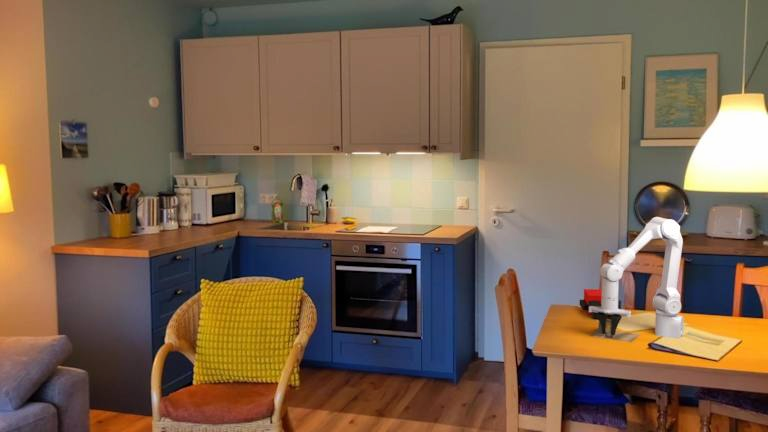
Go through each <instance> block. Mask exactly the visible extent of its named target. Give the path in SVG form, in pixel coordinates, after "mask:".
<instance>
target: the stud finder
mask: <svg viewBox="0 0 768 432" xmlns="http://www.w3.org/2000/svg"><path fill="white" fill-rule="evenodd" d="M597 326H598V329H597V330H598V333H601V334H603V333H602V328H601V325H600V322H598V325H597Z"/></svg>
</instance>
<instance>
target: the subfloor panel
mask: <svg viewBox="0 0 768 432" xmlns="http://www.w3.org/2000/svg"><path fill="white" fill-rule="evenodd" d="M640 336H641V334H640V333H634V332H627V331H619V330H616V332H615V335H613V338H605V334H601V333H598V329H597V330H595V331H594V332H592V333H591V334H590V335H589V337H596V338H601V339H607V340H615V341H619V342H620V341H621V342H626V343H627V342H628V343H632V342H633V341H635V340H636V339H637V338H638V337H640Z"/></svg>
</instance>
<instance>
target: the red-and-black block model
mask: <svg viewBox="0 0 768 432" xmlns="http://www.w3.org/2000/svg"><path fill="white" fill-rule="evenodd" d="M601 302H602V288H600V289H598V288H597V289H593V288H592V289H591V288H589V289H588V288H584V289H583V299H579V306H580V307H581V309H582V310H583V311H585V313H586V314H587V315H588V316H592V318H593V319H598V318H597V315H598V313H596V312H589V307H590V306H597V307H601ZM618 309H622V308H621V306H620V305H619V304H618ZM612 316H613V315H610V314H608V315H607V318H609V319H611V317H612Z"/></svg>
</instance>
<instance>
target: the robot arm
mask: <svg viewBox="0 0 768 432" xmlns="http://www.w3.org/2000/svg"><path fill="white" fill-rule="evenodd" d="M656 239H661V240H662V241H663V242H664V244H665V250H664V258H663V265H662V273H661V280H660V286H659V287H658V288H657V289H655V295H654V297H653V298H652V306H653V307H654V309H655V325H654V326H655V327H654V334H655V336H658V337H660V338H673V339H680V340H681V338H682V337H683V336H684V330H685V329H684V328H685V319H684V316H682V315H680V314H679V313H680V312H681V310H682V303H681V294H680V293H679V291H678V289H677V286H678V283H679V282H678V281H679V275H680V274H679V273H680V266H681V258H682V251H683V250H682V249H683V245H684V241H683V240H684V238H683V237H682V234H681V225H679V223H677V221H676V220H674V219H672V218H671V219H668V218H664V217H660V216H655V217H652V218H651V220H649V221H648V222H647V223H646V224H645V226H644V229H642V231H641V232H640V233H639V234H638V235H637V236H636V237H635V238H634V239H633V241H632V242H631V243H630V244H629V245H628V246H627V247H623V248H620V249H618V250H617V251H616V252H617V253H616V254H615V255H614V256H613V257H612V258H611V259H609V260H608V262H607V263H604V264H603V265H602V266H601V267H600V270H598V273H599V275H600V277H601V289H602V302H601V307H597V306H590V307H589V312H596V313H598V315H597V318H596V319H598V321H599V322H600V325H601V328H602V333H603V334H605V321H606V320H608V316H607V315H608V314H610V315H613V316H612V317H611V318H610V320H611V321H612V332H611V334H612V335H615V332H616V331H617V327H618V326H619V323H620V321H621V319H622V317H625V318H630V317H631V316H632V311H631V310H625V309H623V308H621V309H618V305H619V290H620V289H619V285H620V284H619V282H620V280H621V278H622V277H623V274H624V271H625V270H627V268H628V267H629V266H630V265H631V264H632V263H633V262H634V261H635V259H636V254H637V253H638V252H639V251H640V250H642V249H643V248H644V247H645V246H646V245H647V244H648V243H649V242H651V240H656ZM599 322H598V323H599Z"/></svg>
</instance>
